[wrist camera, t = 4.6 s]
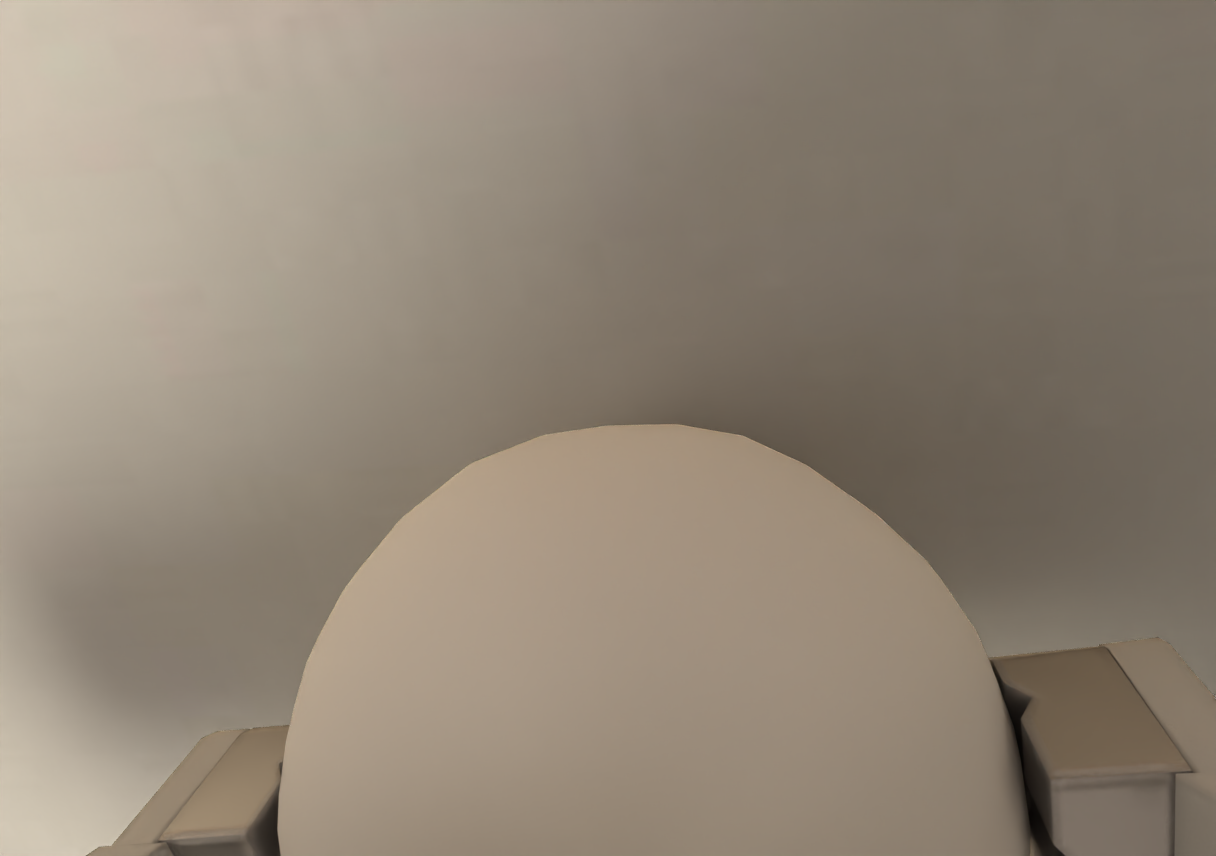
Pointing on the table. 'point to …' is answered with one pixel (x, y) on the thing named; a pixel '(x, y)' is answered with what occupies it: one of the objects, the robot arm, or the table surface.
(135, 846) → the robot arm
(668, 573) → the plain white apple
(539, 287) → the table surface
